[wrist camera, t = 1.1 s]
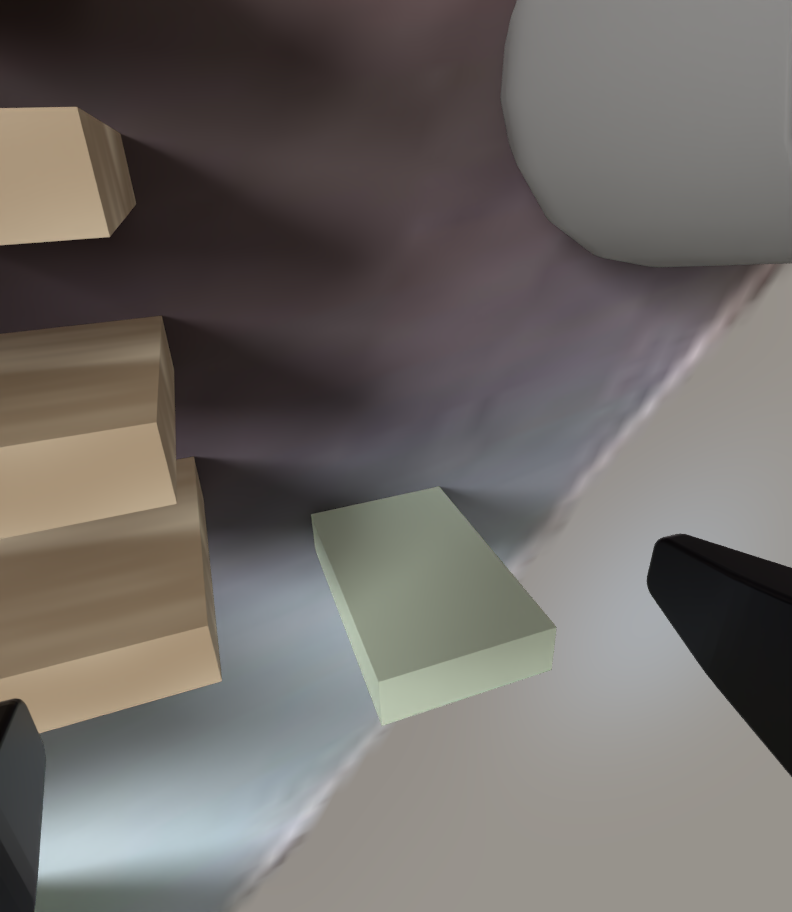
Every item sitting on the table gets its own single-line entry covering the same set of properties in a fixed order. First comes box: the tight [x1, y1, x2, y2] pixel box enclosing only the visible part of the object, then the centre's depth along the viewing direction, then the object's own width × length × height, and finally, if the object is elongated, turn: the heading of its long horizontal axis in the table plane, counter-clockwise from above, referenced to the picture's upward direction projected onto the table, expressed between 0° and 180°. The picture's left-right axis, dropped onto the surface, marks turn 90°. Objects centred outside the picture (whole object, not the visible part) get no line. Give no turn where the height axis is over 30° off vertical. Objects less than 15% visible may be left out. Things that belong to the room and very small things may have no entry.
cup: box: [500, 0, 792, 267], centre depth 13 cm, size 10×9×10 cm
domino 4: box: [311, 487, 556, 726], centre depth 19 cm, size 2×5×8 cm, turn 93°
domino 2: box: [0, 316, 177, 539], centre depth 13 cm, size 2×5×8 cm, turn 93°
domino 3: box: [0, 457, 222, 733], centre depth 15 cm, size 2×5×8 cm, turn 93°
